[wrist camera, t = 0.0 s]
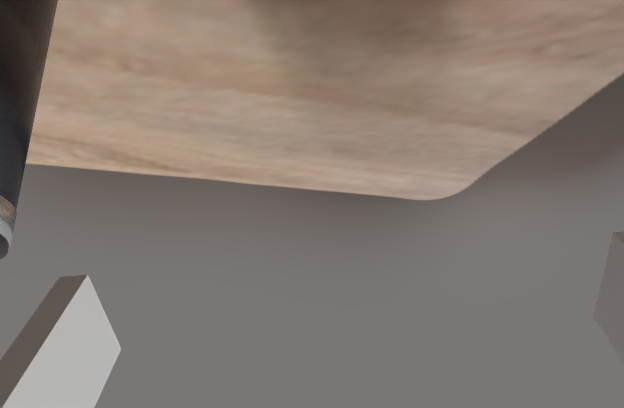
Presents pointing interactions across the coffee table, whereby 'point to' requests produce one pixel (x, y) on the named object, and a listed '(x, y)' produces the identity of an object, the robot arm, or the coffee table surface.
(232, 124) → the coffee table surface
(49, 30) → the lens
